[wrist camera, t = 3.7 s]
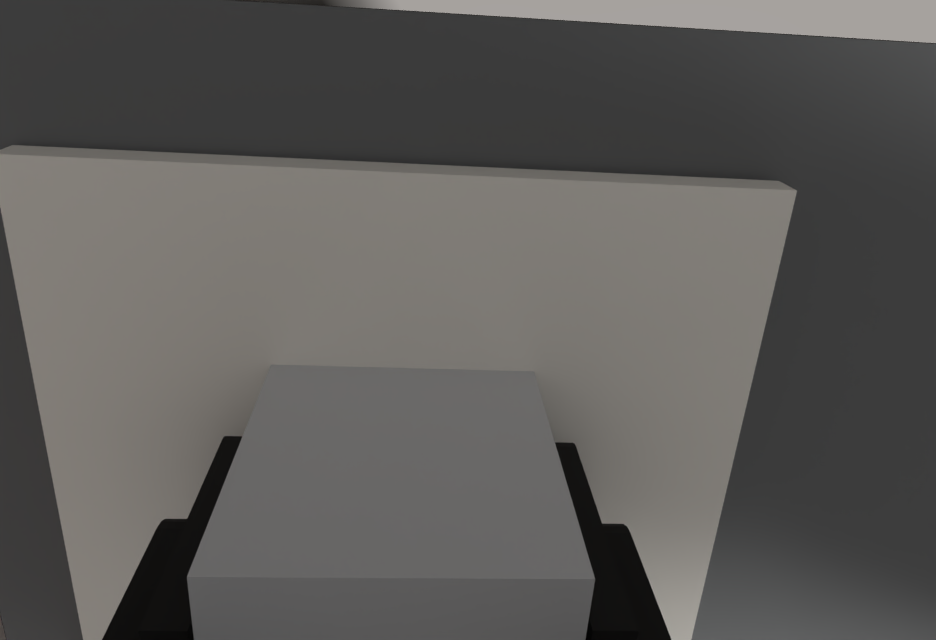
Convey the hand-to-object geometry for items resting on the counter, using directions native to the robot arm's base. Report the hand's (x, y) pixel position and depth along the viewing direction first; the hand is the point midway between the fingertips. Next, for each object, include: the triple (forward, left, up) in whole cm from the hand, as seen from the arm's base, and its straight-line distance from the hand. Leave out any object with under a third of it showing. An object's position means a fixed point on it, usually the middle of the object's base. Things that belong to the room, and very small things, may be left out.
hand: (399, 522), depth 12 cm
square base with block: (0, 0, -1) cm, 1 cm away
